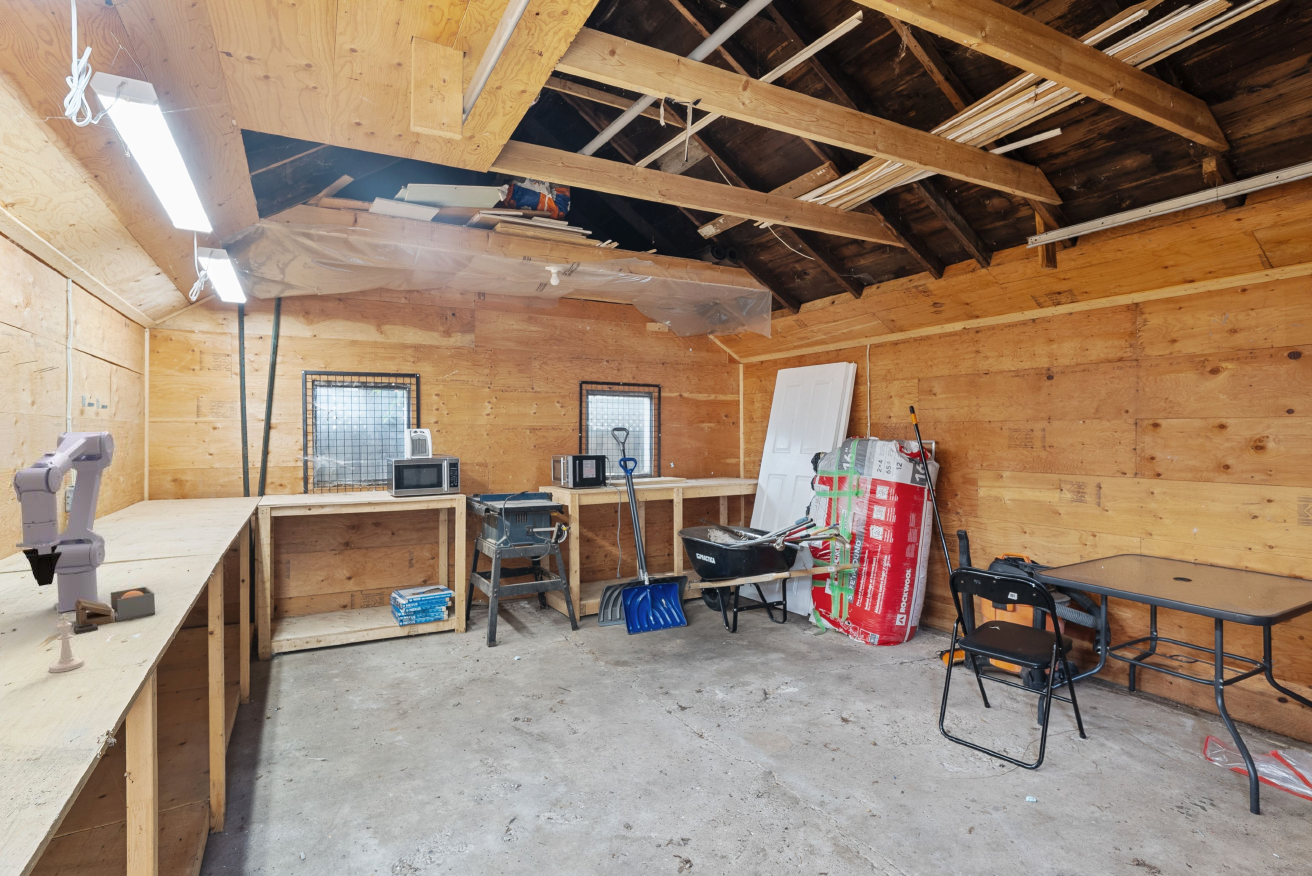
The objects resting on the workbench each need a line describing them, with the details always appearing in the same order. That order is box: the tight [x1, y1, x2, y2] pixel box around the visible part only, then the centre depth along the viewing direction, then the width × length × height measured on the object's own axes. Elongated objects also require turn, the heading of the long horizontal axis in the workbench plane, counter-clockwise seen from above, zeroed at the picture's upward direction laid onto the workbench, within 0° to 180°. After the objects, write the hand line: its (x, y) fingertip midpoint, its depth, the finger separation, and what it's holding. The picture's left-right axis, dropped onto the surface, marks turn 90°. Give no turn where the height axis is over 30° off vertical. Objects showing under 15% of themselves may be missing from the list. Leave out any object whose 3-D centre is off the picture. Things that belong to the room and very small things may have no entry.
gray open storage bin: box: [110, 586, 156, 622], centre depth 152 cm, size 9×7×5 cm
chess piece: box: [48, 613, 85, 673], centre depth 120 cm, size 5×5×10 cm
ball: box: [120, 591, 144, 599], centre depth 152 cm, size 5×5×5 cm
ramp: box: [74, 599, 116, 626], centre depth 147 cm, size 8×6×5 cm
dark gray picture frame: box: [73, 623, 99, 635], centre depth 141 cm, size 4×4×1 cm
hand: (43, 581), depth 144 cm, fingers open, 7 cm apart
